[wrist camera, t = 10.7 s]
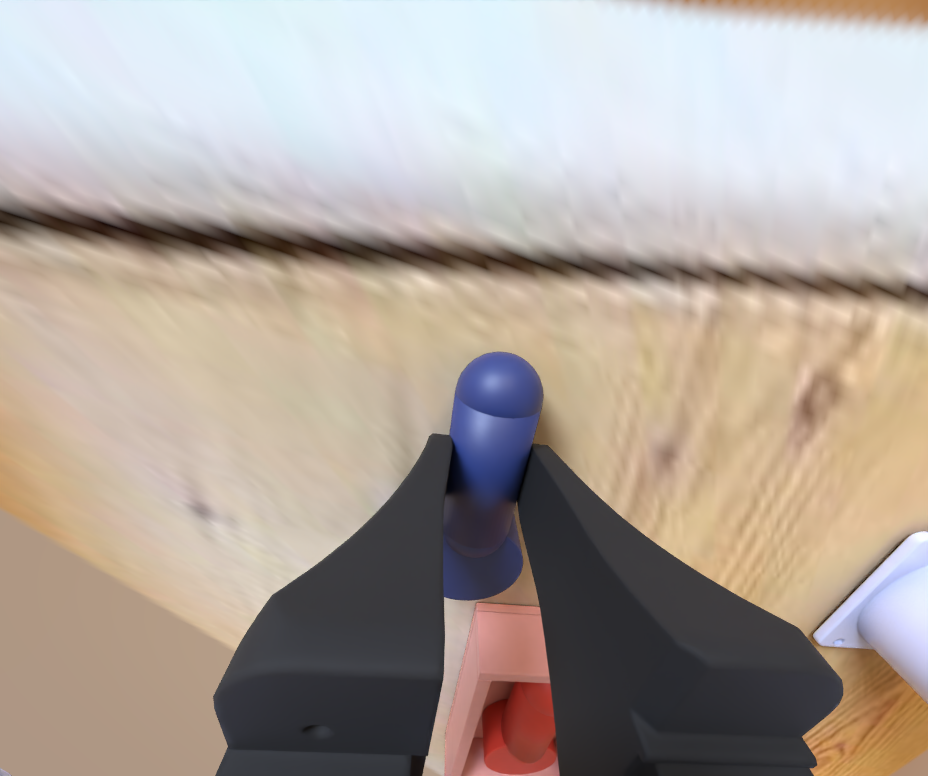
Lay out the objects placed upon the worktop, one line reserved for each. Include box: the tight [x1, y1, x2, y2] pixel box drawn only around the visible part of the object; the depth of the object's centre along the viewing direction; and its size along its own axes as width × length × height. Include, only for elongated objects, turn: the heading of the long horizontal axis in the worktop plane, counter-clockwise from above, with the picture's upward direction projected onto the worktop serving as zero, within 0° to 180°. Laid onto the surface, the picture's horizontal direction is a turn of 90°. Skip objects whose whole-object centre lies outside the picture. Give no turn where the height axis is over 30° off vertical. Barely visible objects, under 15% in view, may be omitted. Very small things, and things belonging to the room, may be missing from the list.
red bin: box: [445, 603, 560, 776], centre depth 19 cm, size 14×8×3 cm, turn 172°
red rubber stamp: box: [482, 682, 556, 775], centre depth 18 cm, size 10×4×3 cm, turn 172°
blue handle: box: [443, 352, 543, 600], centre depth 12 cm, size 10×4×3 cm, turn 172°
